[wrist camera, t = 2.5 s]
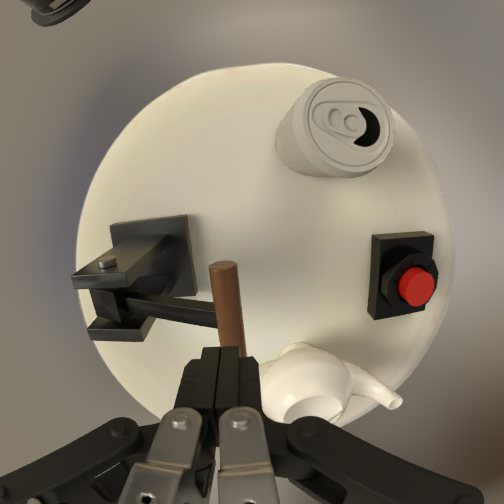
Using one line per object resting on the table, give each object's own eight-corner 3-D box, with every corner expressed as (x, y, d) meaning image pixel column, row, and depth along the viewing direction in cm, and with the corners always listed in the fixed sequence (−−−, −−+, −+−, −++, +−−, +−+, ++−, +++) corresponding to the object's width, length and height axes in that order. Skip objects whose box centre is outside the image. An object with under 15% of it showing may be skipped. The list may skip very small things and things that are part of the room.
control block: (371, 234, 28) (388, 244, 24) (423, 230, 28) (443, 239, 24) (366, 311, 30) (380, 328, 27) (415, 302, 30) (432, 317, 27)
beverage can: (333, 181, 26) (393, 190, 15) (268, 168, 26) (287, 164, 14) (343, 119, 25) (405, 91, 13) (279, 104, 24) (305, 58, 13)
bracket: (187, 214, 27) (148, 245, 16) (197, 291, 29) (173, 360, 18) (113, 223, 27) (46, 256, 16) (128, 295, 29) (78, 355, 18)
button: (399, 268, 25) (408, 274, 24) (427, 264, 25) (436, 270, 24) (396, 301, 26) (404, 309, 25) (423, 296, 26) (431, 303, 25)
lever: (244, 258, 15) (225, 273, 13) (253, 350, 17) (238, 374, 15) (106, 252, 19) (82, 262, 17) (123, 324, 21) (103, 338, 19)
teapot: (212, 322, 30) (202, 378, 21) (382, 323, 31) (418, 368, 22) (213, 386, 33) (206, 443, 24) (363, 383, 34) (387, 431, 25)
